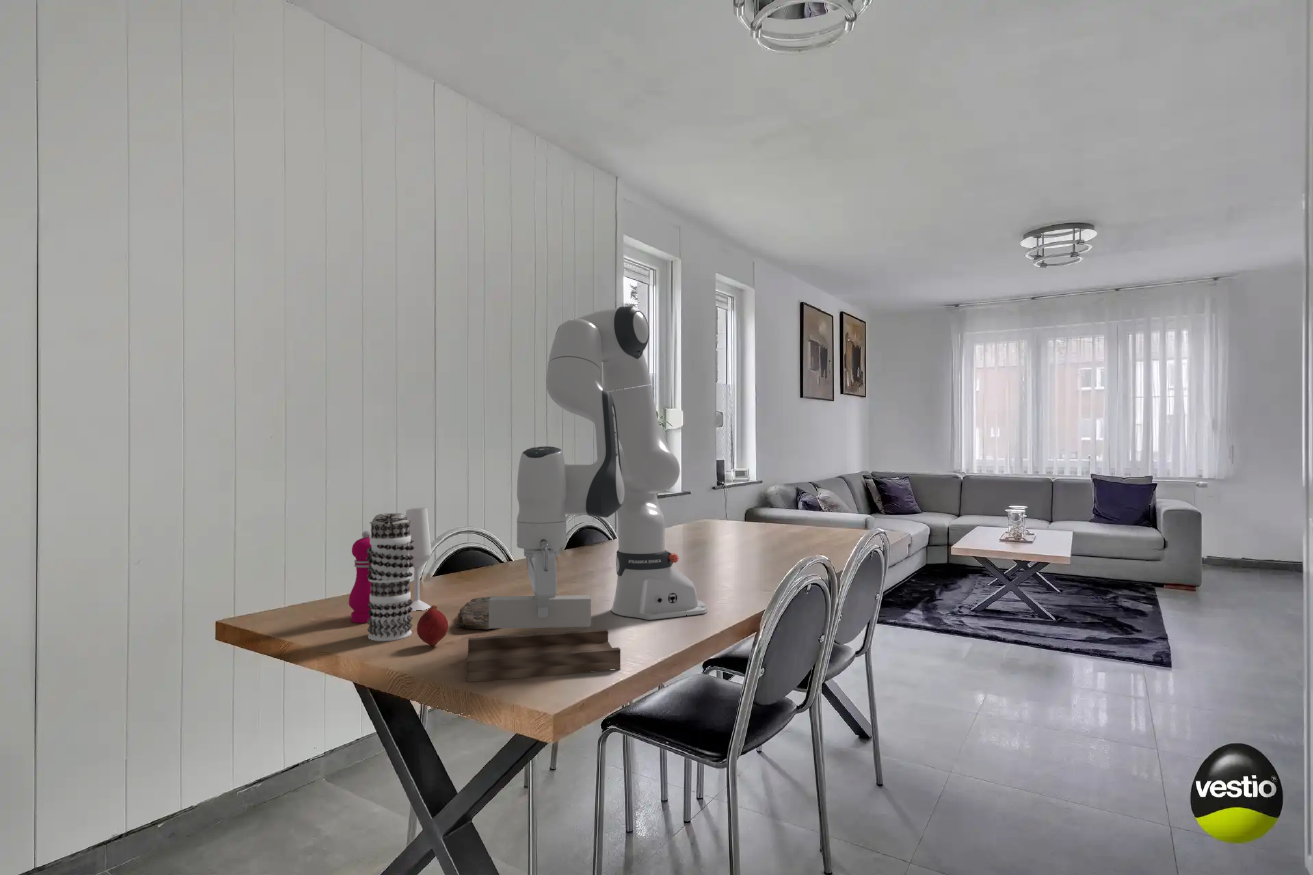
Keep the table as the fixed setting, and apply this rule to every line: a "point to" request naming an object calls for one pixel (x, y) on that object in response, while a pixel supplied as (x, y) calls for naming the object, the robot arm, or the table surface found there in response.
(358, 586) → the pepper mill
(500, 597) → the clay strip
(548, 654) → the grooved wooden tray
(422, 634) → the onion
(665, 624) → the table surface
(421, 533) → the champagne flute
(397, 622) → the decorative candle
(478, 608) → the rough brown rock
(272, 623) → the table surface
